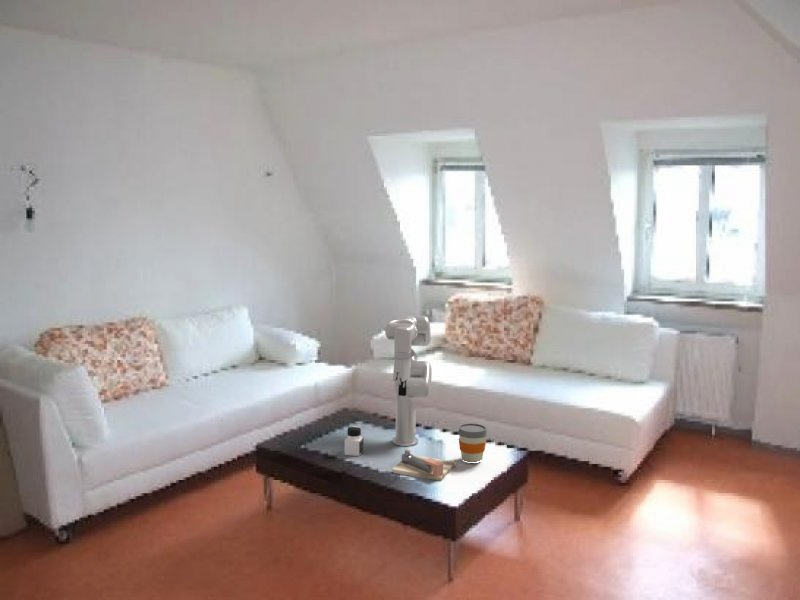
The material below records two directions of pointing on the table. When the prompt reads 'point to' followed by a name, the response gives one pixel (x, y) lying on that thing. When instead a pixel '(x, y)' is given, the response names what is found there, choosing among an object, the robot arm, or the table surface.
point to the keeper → (435, 466)
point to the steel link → (416, 462)
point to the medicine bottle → (354, 441)
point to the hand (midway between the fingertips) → (402, 395)
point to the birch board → (415, 471)
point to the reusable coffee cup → (472, 441)
